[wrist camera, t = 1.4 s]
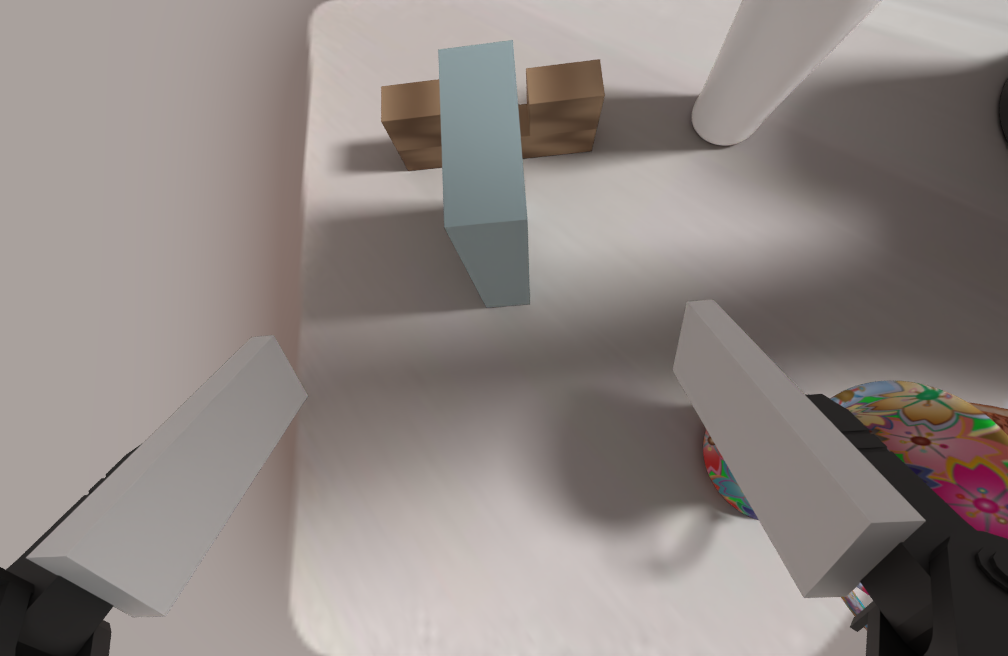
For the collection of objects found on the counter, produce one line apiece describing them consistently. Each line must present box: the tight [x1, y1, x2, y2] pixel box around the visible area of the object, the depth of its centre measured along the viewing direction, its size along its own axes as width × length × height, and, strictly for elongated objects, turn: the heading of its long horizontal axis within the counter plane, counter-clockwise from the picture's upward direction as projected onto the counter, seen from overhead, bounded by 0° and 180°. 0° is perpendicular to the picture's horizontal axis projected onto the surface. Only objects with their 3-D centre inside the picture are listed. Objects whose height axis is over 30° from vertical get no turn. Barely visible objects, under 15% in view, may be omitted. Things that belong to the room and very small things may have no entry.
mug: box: [703, 381, 1008, 630], centre depth 20 cm, size 12×9×11 cm
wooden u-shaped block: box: [381, 59, 605, 171], centre depth 29 cm, size 16×3×6 cm, turn 94°
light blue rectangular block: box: [438, 40, 530, 308], centre depth 23 cm, size 4×9×14 cm, turn 4°
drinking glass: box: [692, 0, 882, 146], centre depth 23 cm, size 7×7×15 cm
